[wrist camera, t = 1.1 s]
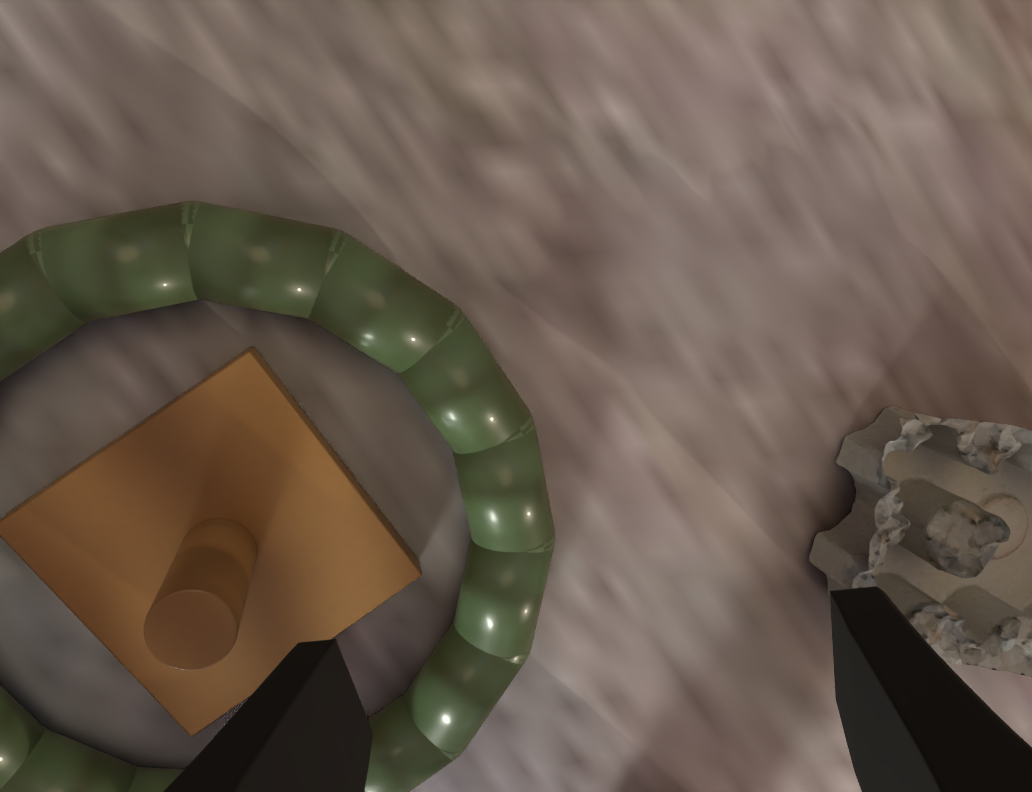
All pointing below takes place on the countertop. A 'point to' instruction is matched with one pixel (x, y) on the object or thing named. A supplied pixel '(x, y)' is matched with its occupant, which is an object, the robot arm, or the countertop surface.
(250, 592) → the ring stand
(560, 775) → the countertop surface
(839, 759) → the countertop surface
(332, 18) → the countertop surface
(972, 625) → the egg carton
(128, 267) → the ring
